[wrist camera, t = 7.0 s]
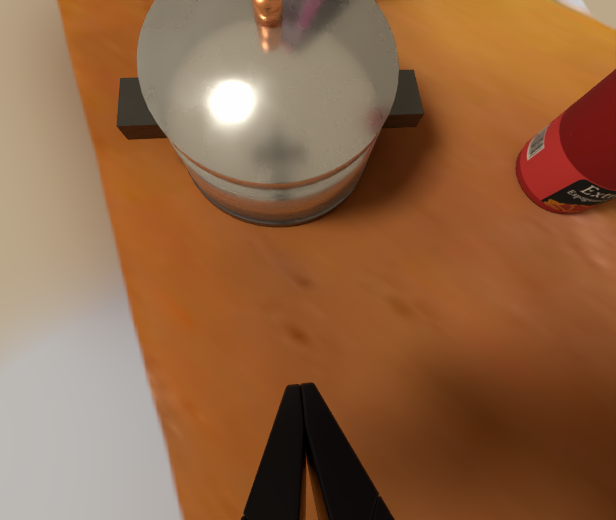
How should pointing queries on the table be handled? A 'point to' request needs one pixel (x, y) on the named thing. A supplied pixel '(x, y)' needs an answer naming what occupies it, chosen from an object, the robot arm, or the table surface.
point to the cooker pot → (270, 203)
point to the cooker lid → (268, 85)
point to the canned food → (574, 155)
